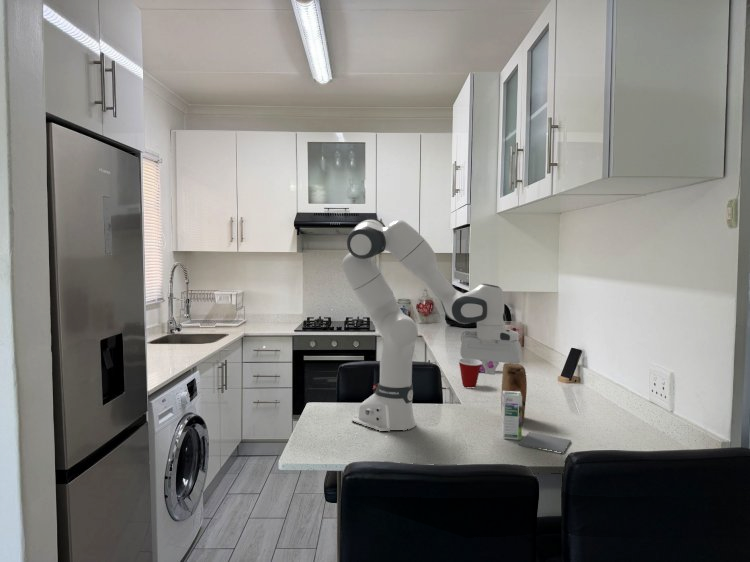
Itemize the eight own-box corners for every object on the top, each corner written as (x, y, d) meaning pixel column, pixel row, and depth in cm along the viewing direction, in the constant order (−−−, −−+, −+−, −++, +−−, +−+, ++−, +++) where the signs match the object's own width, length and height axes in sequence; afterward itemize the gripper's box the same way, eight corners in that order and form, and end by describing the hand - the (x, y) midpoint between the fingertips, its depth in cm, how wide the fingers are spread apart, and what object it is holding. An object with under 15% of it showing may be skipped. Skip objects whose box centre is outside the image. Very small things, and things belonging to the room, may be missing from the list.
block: (500, 415, 182) (501, 361, 181) (520, 415, 182) (522, 362, 181) (505, 424, 171) (507, 368, 170) (527, 425, 171) (529, 368, 170)
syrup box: (503, 439, 157) (504, 394, 157) (501, 432, 163) (502, 389, 163) (521, 440, 157) (522, 395, 156) (519, 434, 162) (520, 390, 162)
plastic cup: (470, 391, 215) (470, 364, 214) (452, 385, 224) (453, 359, 223) (487, 387, 221) (487, 361, 221) (469, 382, 230) (469, 357, 229)
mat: (519, 445, 152) (519, 443, 152) (529, 433, 163) (529, 432, 163) (562, 454, 146) (563, 452, 146) (570, 441, 156) (570, 440, 156)
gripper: (457, 331, 165) (457, 372, 166) (518, 336, 154) (517, 379, 155) (464, 329, 171) (464, 368, 171) (523, 333, 160) (523, 375, 160)
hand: (490, 374), depth 163 cm, fingers closed
